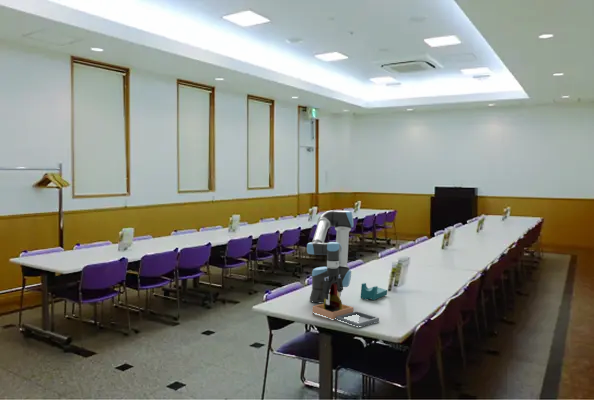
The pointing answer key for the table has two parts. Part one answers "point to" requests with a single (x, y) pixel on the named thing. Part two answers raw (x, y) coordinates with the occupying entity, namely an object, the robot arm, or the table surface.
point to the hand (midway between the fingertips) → (332, 303)
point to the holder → (320, 310)
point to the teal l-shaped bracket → (372, 292)
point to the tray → (363, 318)
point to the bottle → (333, 300)
